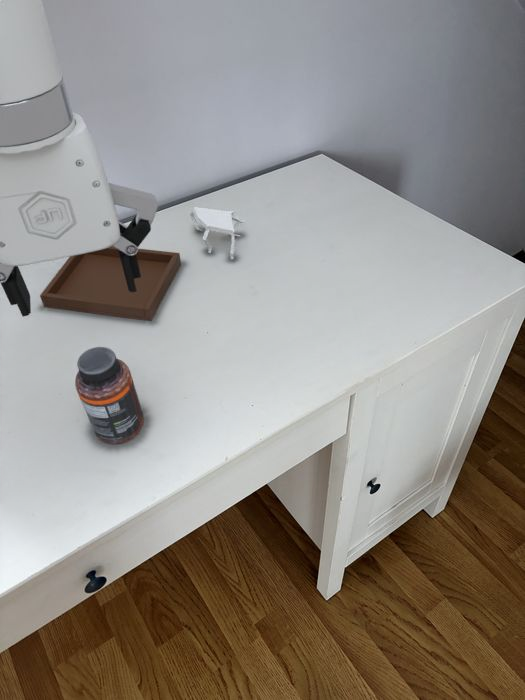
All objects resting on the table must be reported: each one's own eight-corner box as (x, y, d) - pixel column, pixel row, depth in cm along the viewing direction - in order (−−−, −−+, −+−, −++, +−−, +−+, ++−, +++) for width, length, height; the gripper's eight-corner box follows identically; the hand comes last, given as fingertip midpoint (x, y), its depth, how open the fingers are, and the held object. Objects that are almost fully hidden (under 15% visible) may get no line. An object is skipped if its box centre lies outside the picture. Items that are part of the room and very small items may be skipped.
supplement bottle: (119, 398, 70) (97, 331, 62) (155, 419, 67) (137, 352, 59) (82, 431, 66) (55, 365, 58) (119, 455, 64) (96, 388, 56)
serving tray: (44, 307, 82) (39, 295, 81) (84, 253, 92) (80, 242, 90) (151, 321, 80) (148, 309, 78) (181, 264, 89) (179, 252, 87)
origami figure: (260, 238, 93) (259, 212, 90) (231, 265, 88) (229, 238, 85) (202, 219, 98) (199, 193, 95) (171, 243, 93) (167, 217, 90)
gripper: (-122, 154, 36) (-19, 343, 49) (144, 112, 40) (178, 298, 52) (-106, 110, 42) (-16, 291, 54) (129, 75, 45) (163, 253, 57)
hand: (79, 294), depth 53 cm, fingers open, 9 cm apart
